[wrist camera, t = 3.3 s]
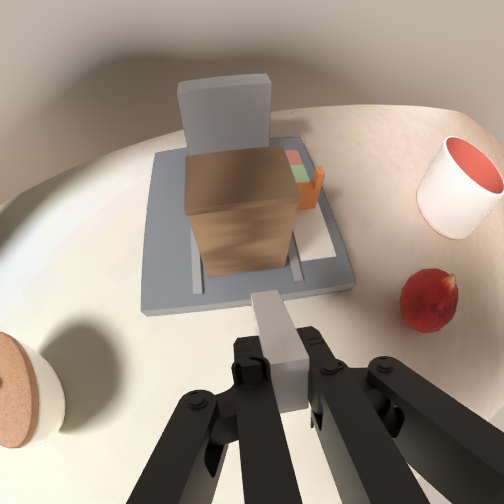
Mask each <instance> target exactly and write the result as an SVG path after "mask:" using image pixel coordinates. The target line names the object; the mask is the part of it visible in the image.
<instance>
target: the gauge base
mask: <svg viewBox="0 0 504 504" xmlns="http://www.w3.org/2000/svg"><path fill="white" fill-rule="evenodd" d="M271 88H272V83H271V81H270V79H269V77H268V75H267V74H246V75H233V76H221V77H212V78H205V79H197V80H190V81H184V82H179V84H178V89H177V96H178V102H179V107H180V112H181V117H182V122H183V128H184V133H185V138H186V142H187V148H181V149H175V150H169V151H163V152H158V153H155V157H154V163H153V169H152V176H151V182H150V190H149V197H148V205H147V214H146V224H145V234H144V246H143V261H142V281H141V312H142V313H144V314H145V315H146V316H157V315H168V314H179V313H189V312H199V311H208V310H217V309H225V308H233V307H241V306H249V305H252V300H251V293H257V292H265V291H272V290H278V292H279V294H280V297H281V299H282V301H284V300H291V299H297V298H303V297H309V296H315V295H321V294H327V293H333V292H338V291H344V290H349V289H352V287H353V286H354V285H355V283H356V280H355V277H354V274H353V271H352V268H351V265H350V262H349V259H348V256H347V253H346V250H345V247H344V244H343V241H342V238H341V236H340V233H339V230H338V227H337V225H336V222H335V219H334V217H333V214H332V211H331V209H330V206H329V204H328V201H327V199H326V196H325V194H324V191H323V189H322V186H321V189H320V193H319V197H318V200H317V204H316V208H315V209H305V210H296V215H295V220H294V225H293V230H292V235H291V239H290V244H289V249H288V254H287V259H286V263H285V267H282V268H274V269H267V270H259V271H252V272H244V273H236V274H228V275H220V276H212V277H208V276H207V274H206V271H205V268H204V265H203V262H202V259H201V256H200V252H199V249H198V246H197V243H196V240H195V237H194V234H193V231H192V227H191V224H190V221H189V218H188V216H186V215H185V211H184V188H185V159H186V156H190V155H197V154H204V153H212V152H220V151H229V150H238V149H248V148H260V147H274V146H283V147H284V150H285V152H286V155H287V158H288V161H289V163H290V166H291V169H292V172H293V175H294V177H295V180H296V183H304V182H312V179H313V175H314V167H313V165H312V163H311V160H310V158H309V156H308V154H307V151H306V149H305V147H304V145H303V142H302V140H301V138H300V137H287V138H269V133H270V111H271V110H270V109H271Z"/></svg>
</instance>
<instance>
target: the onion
mask: <svg viewBox="0 0 504 504" xmlns="http://www.w3.org/2000/svg"><path fill="white" fill-rule="evenodd" d="M455 281H456V280H455V276H454V274H450V275H449V274H448V273H446V272H445V271H442V270H439V269H425V270H421V271H420V272H418V273H416V274H415V275H413V276H412V277H410V279H409V280H408V281H407V283H406V285H405V286H404V288H403V289H402V293H401V298H400V306H401V314H402V316H403V318H404V320H405V322H406V323H407V324H408V325H409V326H410V327H411V328H413V329H416V330H418V331H421V332H423V333H426V332H434V331H438V330H440V329H441V328H442V327H443V326H444V325H446V324H447V323H448V322H449V321H450V320H451V319H452V318H453V316H454V314H455V311H456V306H457V301H458V288H457V285H456V283H455Z"/></svg>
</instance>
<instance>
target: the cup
mask: <svg viewBox="0 0 504 504" xmlns="http://www.w3.org/2000/svg"><path fill="white" fill-rule="evenodd" d="M503 195H504V181H503V178H502V176H501V174H500V172H499V171H498V169H497V168H496V166H495V165H494V164H493V162H492V161H491V160H490V159H489V158H488V157H487V156H486V155H485V154H484V153H483V152H482V151H481V150H480V149H478V148H477V147H476V146H474V145H473V144H471V143H470V142H468V141H466V140H464V139H462V138H459V137H455V136H449V137H446V138H445V139H444V141H443V143H442V145H441V147H440V149H439V151H438V153H437V155H436V157H435V158H434V160H433V162H432V164H431V166H430V168H429V169H428V171H427V173H426V175H425V176H424V178H423V180H422V182H421V183H420V185H419V187H418V190H417V203H418V206H419V209H420V211H421V213H422V215H423V217H424V218H425V220H426V221H427V222H428V224H429V225H430V226H431V227H432V228H433V229H434V230H436V231H437V232H438V233H440V234H441V235H443V236H445V237H447V238H450V239H455V240H459V239H463V238H466V237H467V236H469V235H470V234H471V232H472V231H473V230H474V229H475V228H476V227H477V226H478V225H479V224H480V222H481V221H482V220H483V219H484V218H485V217H486V216H487V214H488V213H489V212H490V211H491V210H492V208H493V207H494V206H495V205H496V204H497V202H498V201H499V200H500V199H501V197H502V196H503Z"/></svg>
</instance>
